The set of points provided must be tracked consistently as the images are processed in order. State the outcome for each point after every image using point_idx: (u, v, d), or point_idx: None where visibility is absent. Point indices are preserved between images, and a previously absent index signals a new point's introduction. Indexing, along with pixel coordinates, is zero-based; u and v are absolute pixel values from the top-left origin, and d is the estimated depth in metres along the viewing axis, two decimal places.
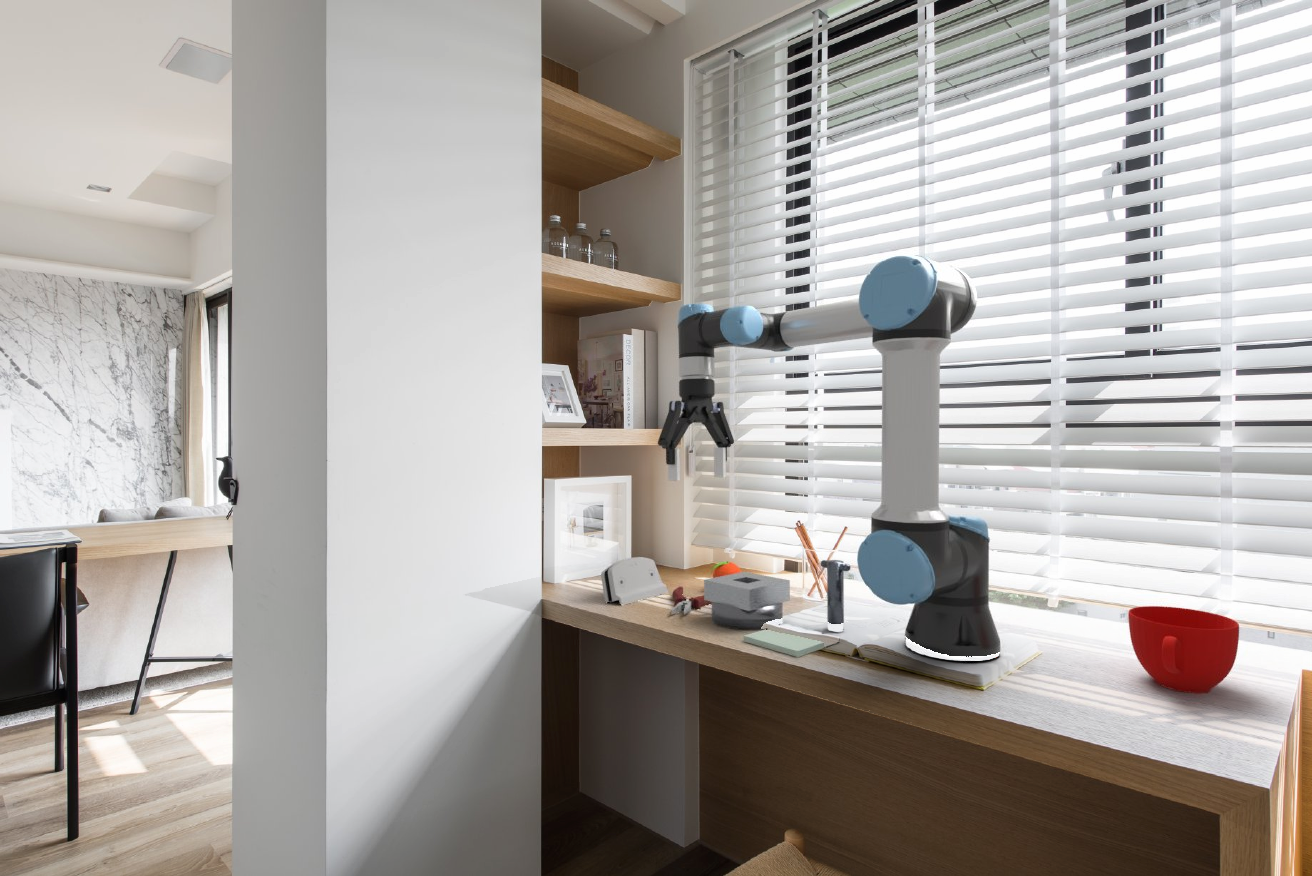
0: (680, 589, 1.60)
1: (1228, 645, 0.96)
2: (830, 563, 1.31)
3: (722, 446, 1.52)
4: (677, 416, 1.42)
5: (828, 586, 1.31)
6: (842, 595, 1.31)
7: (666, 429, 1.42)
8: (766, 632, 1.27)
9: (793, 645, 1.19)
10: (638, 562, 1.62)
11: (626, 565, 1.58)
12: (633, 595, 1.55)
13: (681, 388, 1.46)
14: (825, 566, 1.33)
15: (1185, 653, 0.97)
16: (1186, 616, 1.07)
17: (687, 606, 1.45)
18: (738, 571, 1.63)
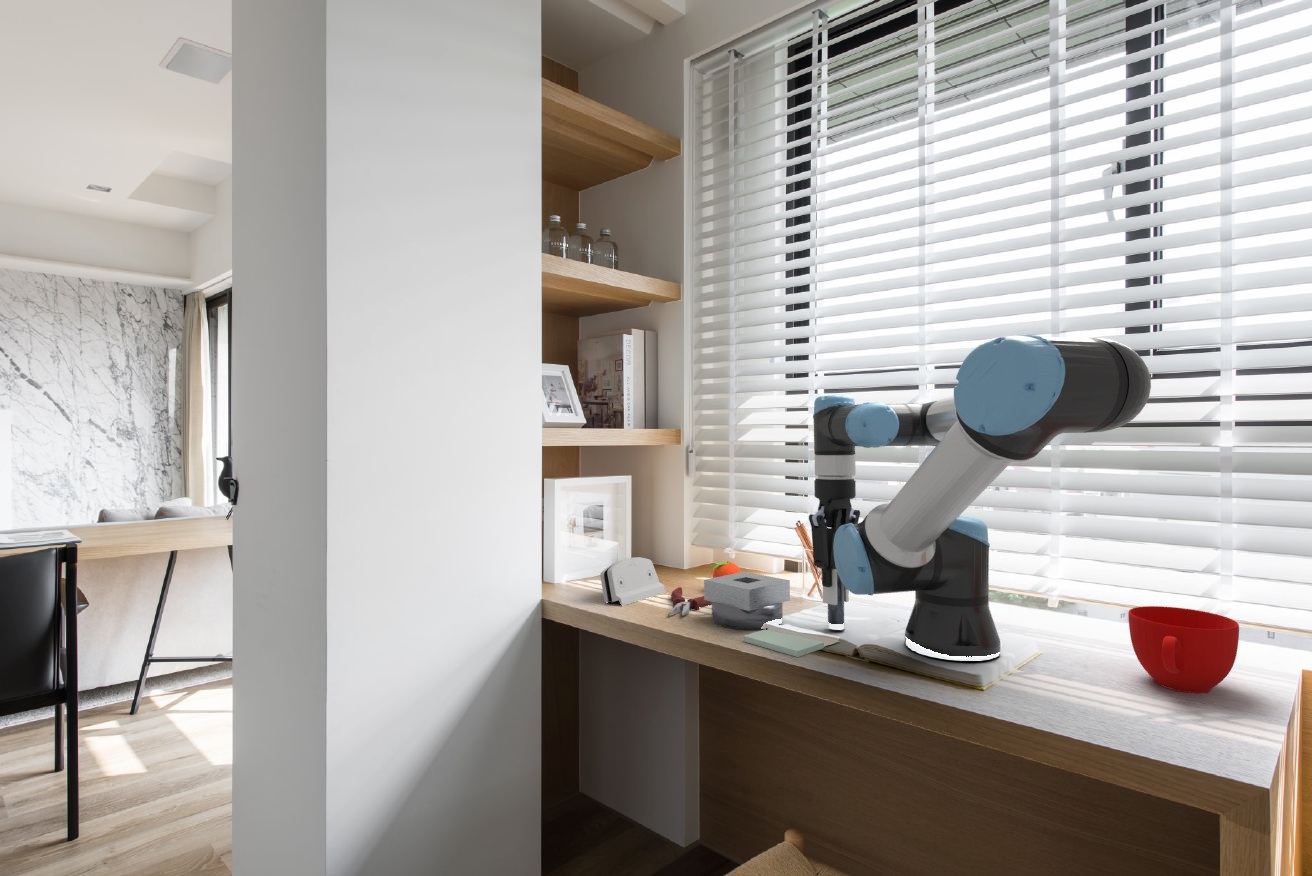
0: (679, 590, 1.60)
1: (1228, 645, 0.96)
2: None
3: None
4: (824, 532, 1.27)
5: None
6: (842, 593, 1.31)
7: (818, 549, 1.28)
8: (766, 632, 1.27)
9: (793, 645, 1.19)
10: (636, 562, 1.61)
11: (625, 565, 1.58)
12: (633, 595, 1.55)
13: (819, 489, 1.30)
14: None
15: (1185, 653, 0.97)
16: (1186, 616, 1.07)
17: (686, 607, 1.44)
18: (738, 571, 1.63)
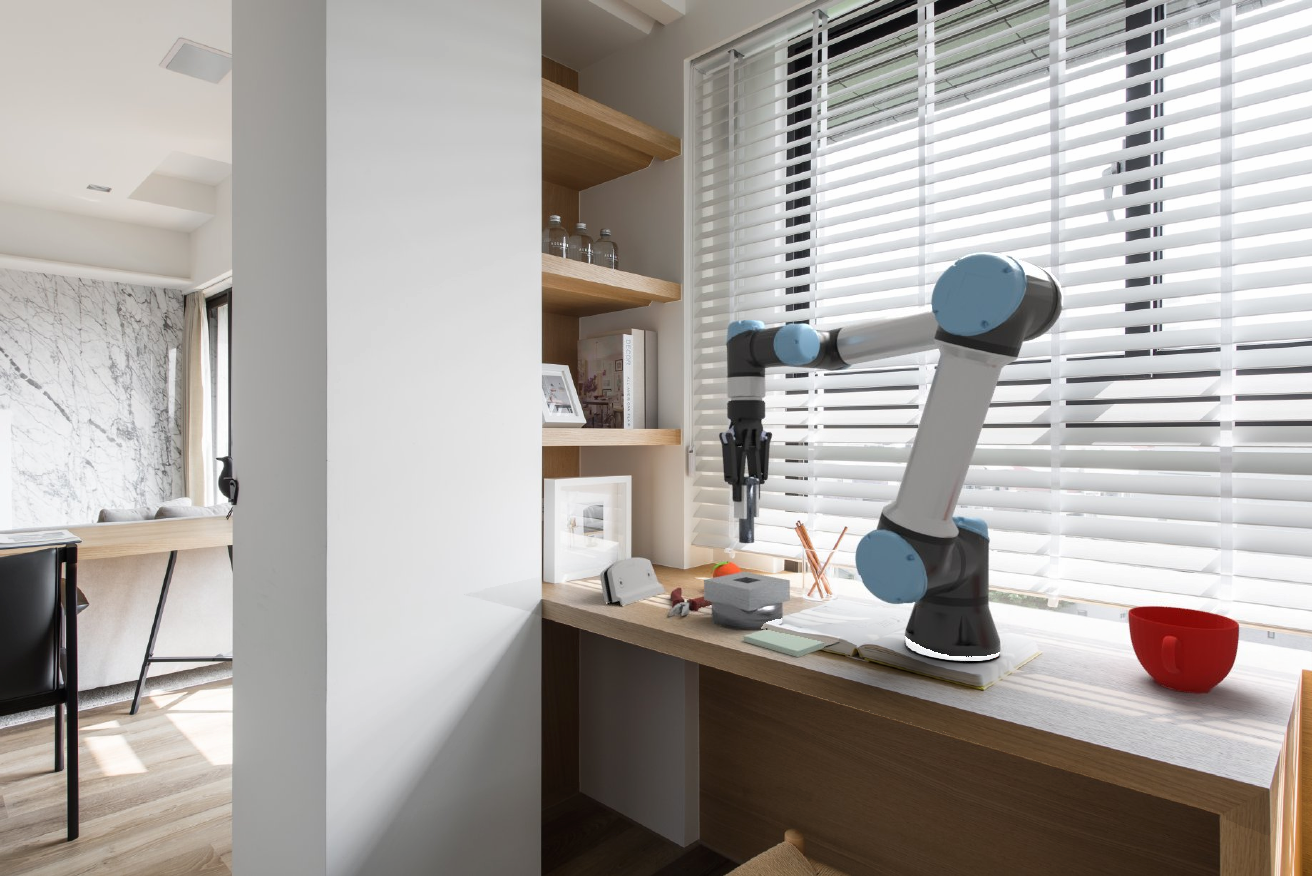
0: (679, 590, 1.59)
1: (1228, 644, 0.96)
2: None
3: None
4: (733, 448, 1.35)
5: None
6: (751, 508, 1.38)
7: (728, 465, 1.36)
8: (766, 632, 1.27)
9: (793, 645, 1.19)
10: (636, 562, 1.61)
11: (625, 565, 1.58)
12: (633, 595, 1.55)
13: (730, 410, 1.37)
14: None
15: (1185, 653, 0.97)
16: (1186, 616, 1.07)
17: (685, 608, 1.44)
18: (738, 571, 1.63)
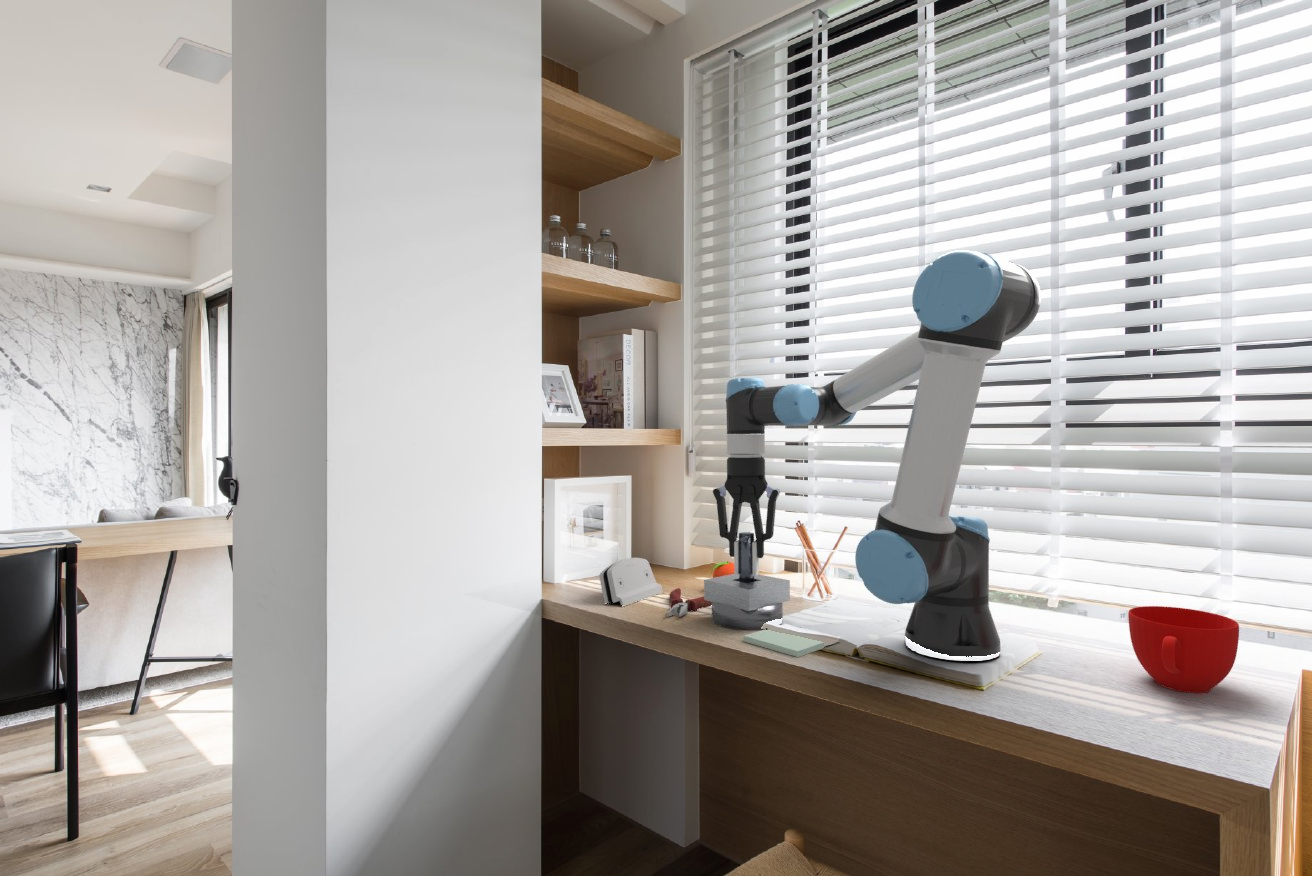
0: (678, 591, 1.59)
1: (1228, 644, 0.96)
2: (739, 534, 1.40)
3: (756, 539, 1.38)
4: (720, 504, 1.40)
5: None
6: (744, 565, 1.38)
7: None
8: (766, 632, 1.27)
9: (793, 645, 1.19)
10: (634, 563, 1.61)
11: (624, 565, 1.58)
12: (632, 596, 1.55)
13: None
14: None
15: (1185, 653, 0.97)
16: (1186, 616, 1.07)
17: (683, 608, 1.43)
18: None
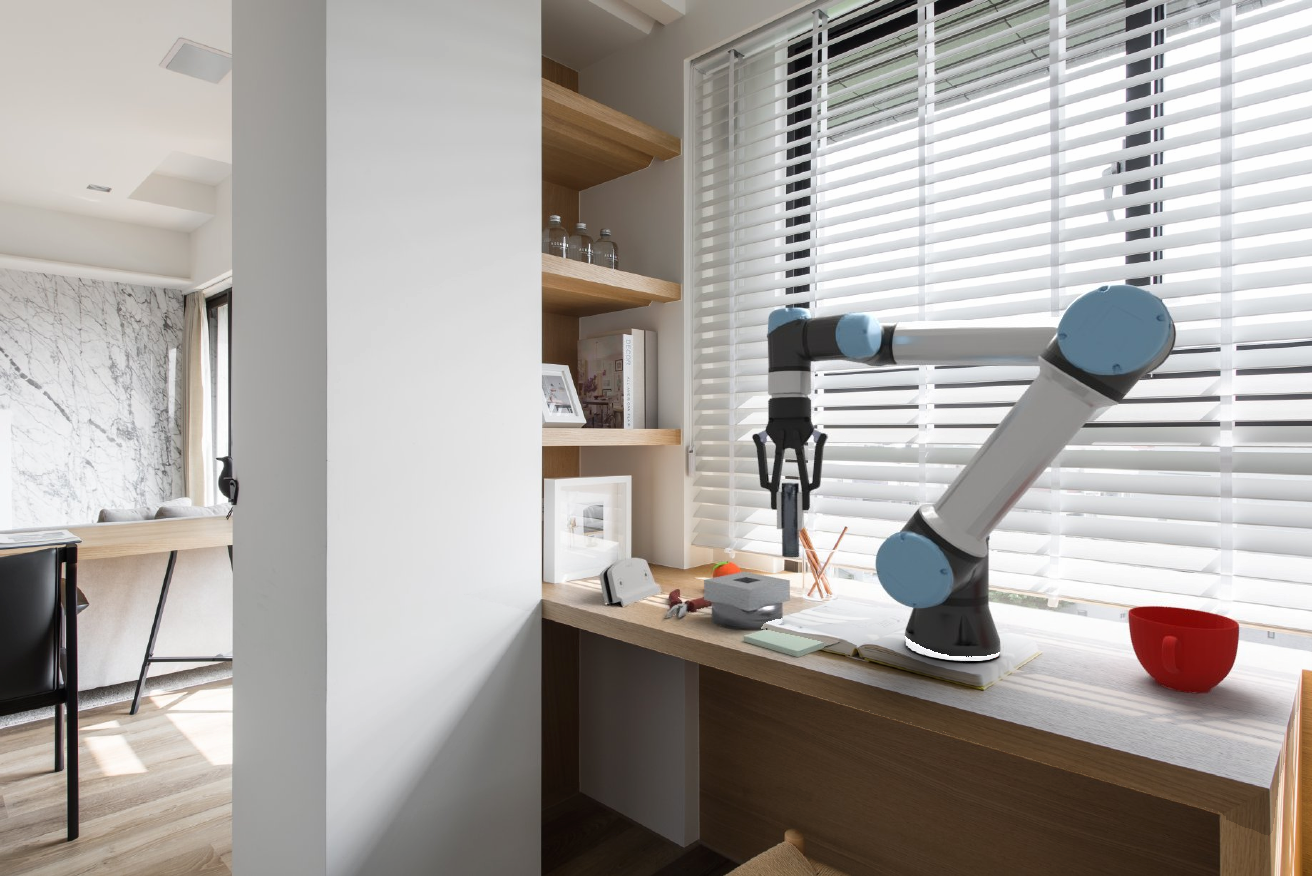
0: (677, 591, 1.58)
1: (1228, 645, 0.96)
2: None
3: None
4: (760, 451, 1.25)
5: None
6: (788, 518, 1.23)
7: None
8: (766, 632, 1.27)
9: (793, 645, 1.19)
10: (633, 563, 1.61)
11: (623, 565, 1.57)
12: (633, 596, 1.54)
13: None
14: None
15: (1185, 653, 0.97)
16: (1186, 616, 1.07)
17: (682, 609, 1.43)
18: (738, 571, 1.63)
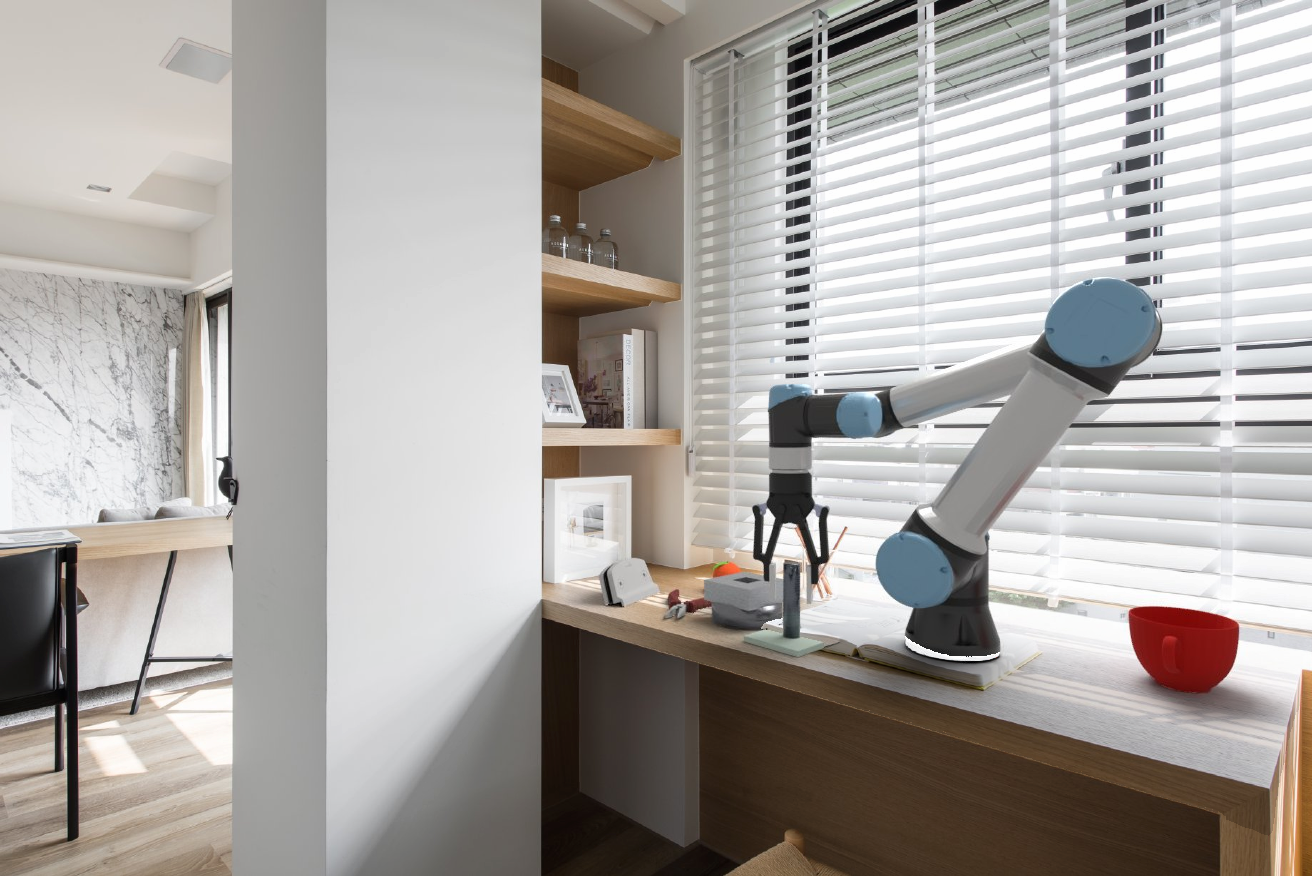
0: (676, 592, 1.58)
1: (1228, 645, 0.96)
2: (783, 564, 1.25)
3: None
4: (758, 523, 1.25)
5: None
6: (790, 599, 1.23)
7: None
8: (766, 632, 1.27)
9: (793, 645, 1.19)
10: (632, 563, 1.61)
11: (623, 566, 1.57)
12: (632, 596, 1.54)
13: None
14: None
15: (1185, 653, 0.97)
16: (1186, 616, 1.07)
17: (681, 610, 1.42)
18: (738, 571, 1.63)
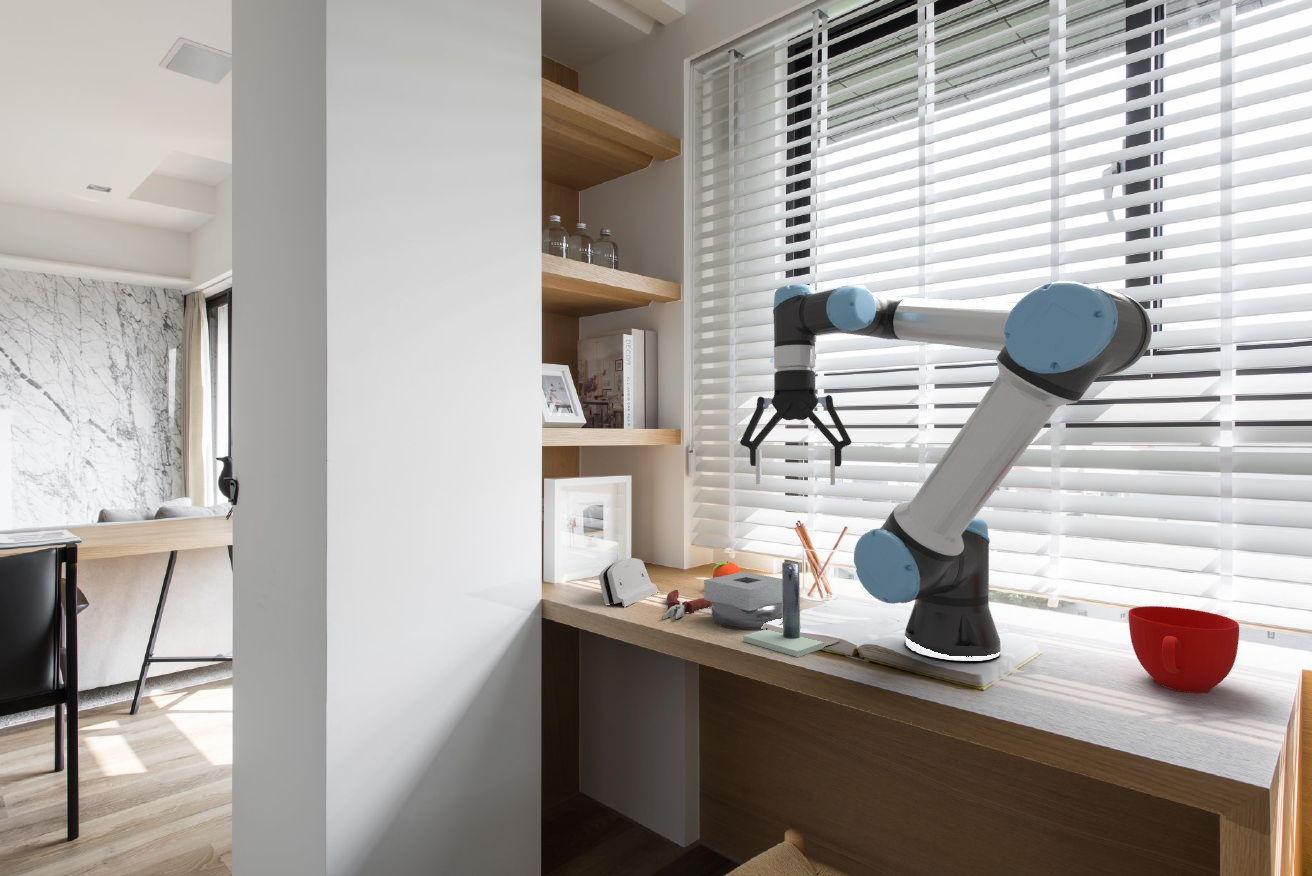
0: (675, 592, 1.57)
1: (1228, 644, 0.96)
2: (782, 564, 1.25)
3: (834, 447, 1.28)
4: (757, 414, 1.31)
5: None
6: (789, 599, 1.23)
7: None
8: (766, 632, 1.27)
9: (793, 645, 1.19)
10: (631, 563, 1.61)
11: (622, 566, 1.57)
12: (632, 596, 1.54)
13: None
14: None
15: (1185, 653, 0.97)
16: (1186, 616, 1.07)
17: (680, 610, 1.42)
18: (738, 571, 1.63)
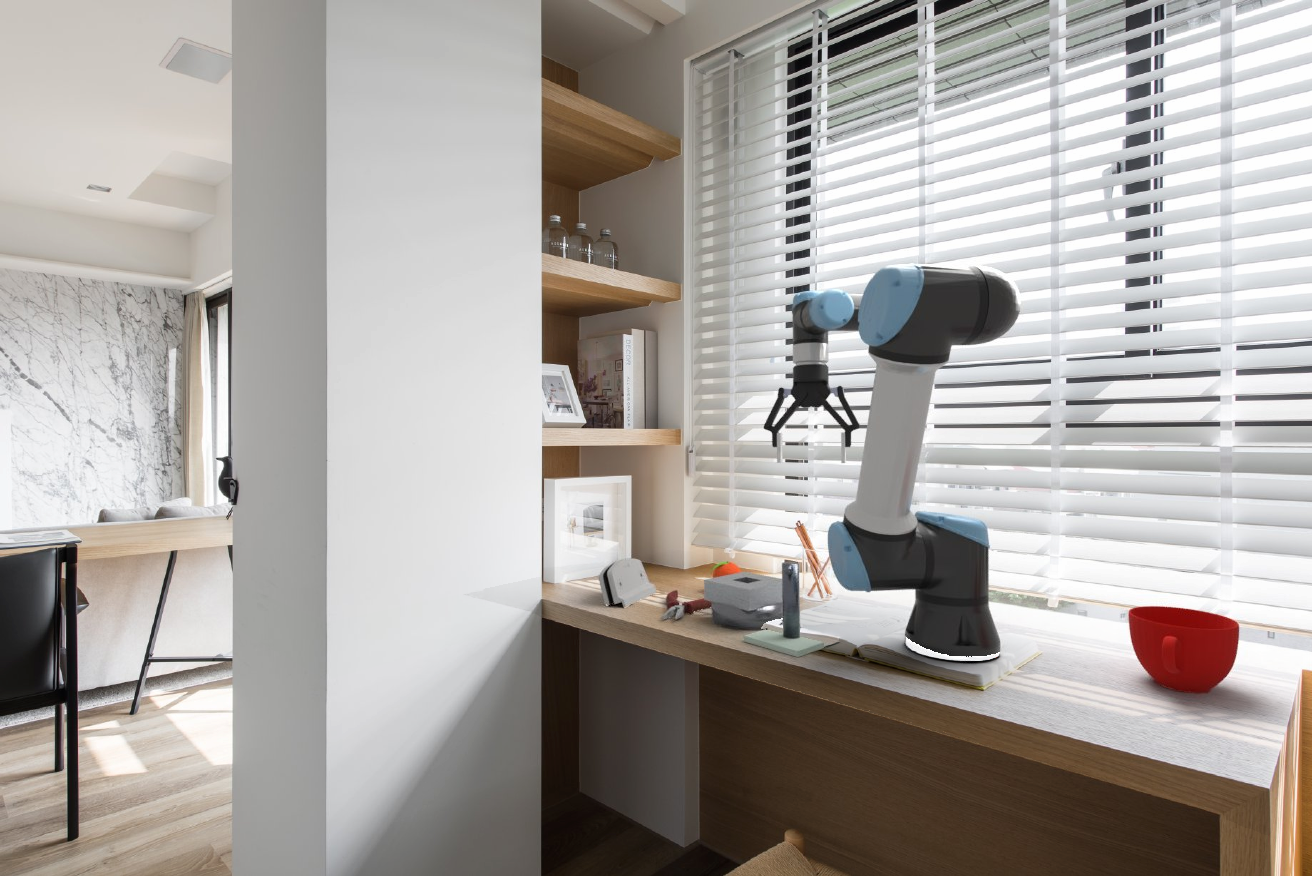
0: (675, 593, 1.57)
1: (1228, 645, 0.96)
2: (782, 564, 1.25)
3: (845, 431, 1.49)
4: (778, 402, 1.52)
5: None
6: (789, 599, 1.23)
7: None
8: (766, 632, 1.27)
9: (793, 645, 1.19)
10: (630, 563, 1.60)
11: (622, 566, 1.57)
12: (632, 596, 1.54)
13: None
14: None
15: (1185, 653, 0.97)
16: (1186, 616, 1.07)
17: (679, 611, 1.41)
18: (738, 571, 1.63)
